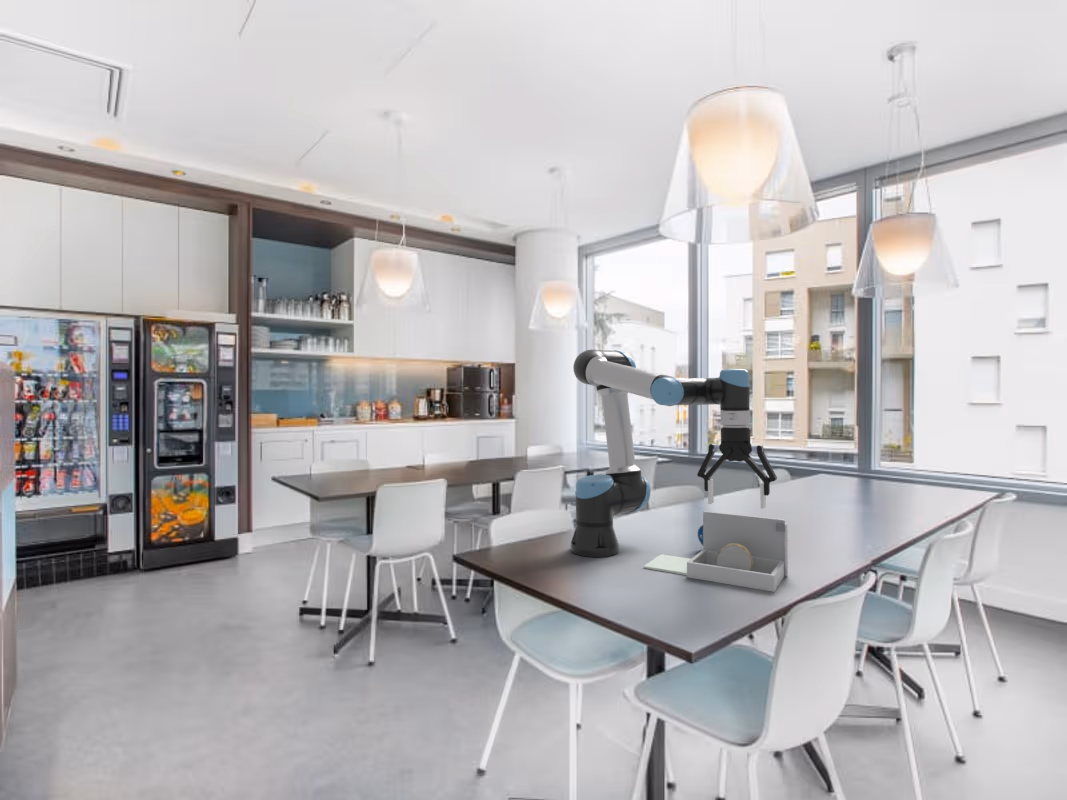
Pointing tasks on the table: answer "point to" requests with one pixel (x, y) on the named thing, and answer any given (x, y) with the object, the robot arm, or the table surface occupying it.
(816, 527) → the table surface
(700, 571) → the case
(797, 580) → the table surface
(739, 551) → the coral
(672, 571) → the mat
